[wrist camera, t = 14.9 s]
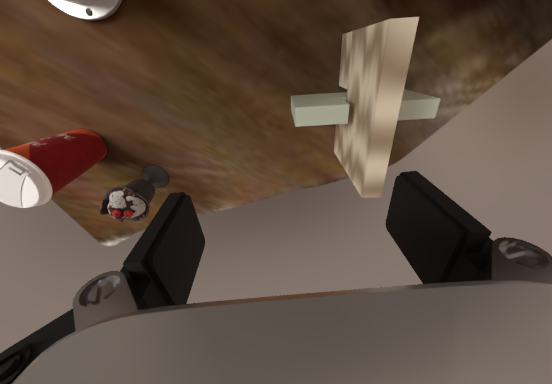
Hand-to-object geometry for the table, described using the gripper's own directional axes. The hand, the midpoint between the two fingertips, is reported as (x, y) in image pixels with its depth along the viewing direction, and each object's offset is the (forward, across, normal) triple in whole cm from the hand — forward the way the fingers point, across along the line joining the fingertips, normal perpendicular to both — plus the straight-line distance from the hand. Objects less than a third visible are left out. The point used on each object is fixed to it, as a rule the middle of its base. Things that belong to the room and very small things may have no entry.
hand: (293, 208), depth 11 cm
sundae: (+32, +25, +13) cm, 43 cm away
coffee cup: (+33, +34, +6) cm, 48 cm away
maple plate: (+31, -12, +2) cm, 33 cm away
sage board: (+31, -12, +2) cm, 33 cm away
